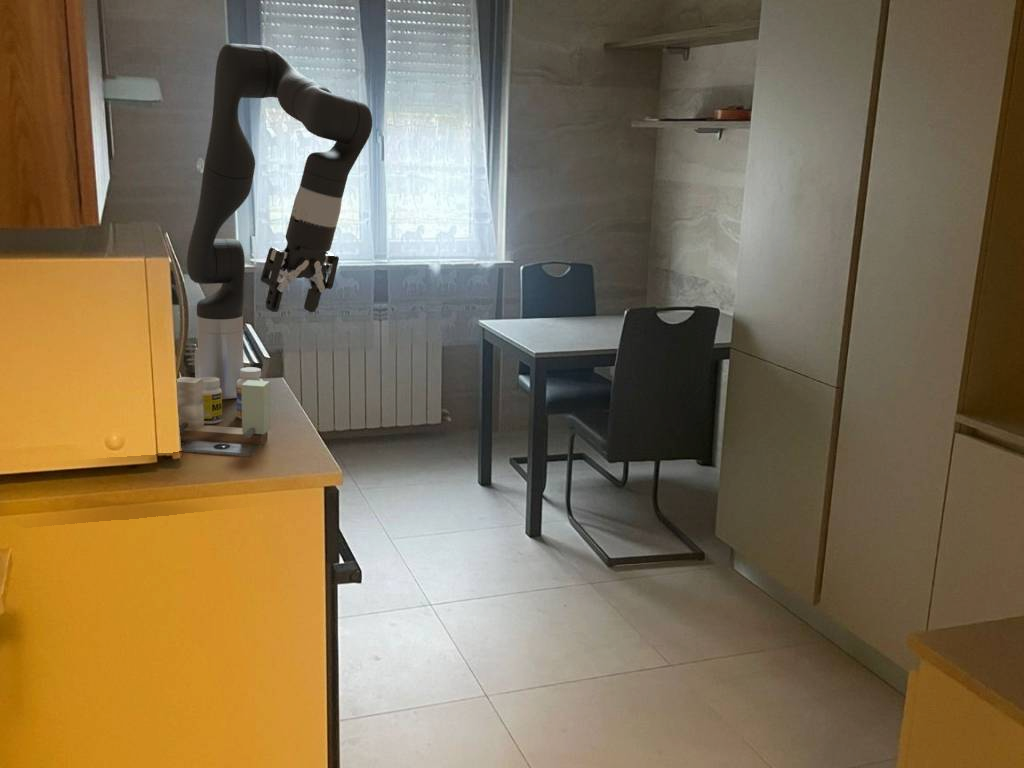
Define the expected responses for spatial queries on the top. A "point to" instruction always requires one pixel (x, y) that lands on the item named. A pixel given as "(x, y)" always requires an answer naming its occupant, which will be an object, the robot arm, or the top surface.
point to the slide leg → (255, 407)
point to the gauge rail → (224, 435)
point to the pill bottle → (245, 375)
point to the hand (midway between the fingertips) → (290, 310)
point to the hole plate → (218, 447)
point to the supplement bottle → (212, 400)
